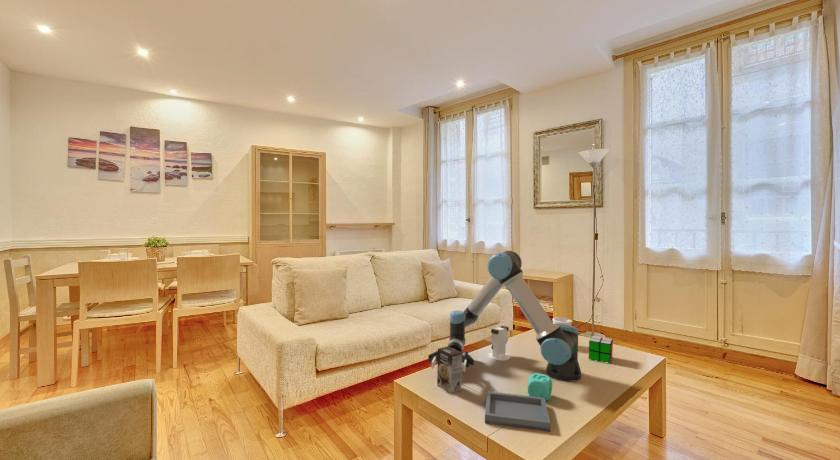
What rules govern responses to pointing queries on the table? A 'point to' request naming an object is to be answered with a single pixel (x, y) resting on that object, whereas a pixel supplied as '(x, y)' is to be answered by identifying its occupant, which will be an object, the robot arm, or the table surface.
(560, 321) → the jar
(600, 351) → the puzzle cube
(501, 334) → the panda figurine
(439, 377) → the coffee box
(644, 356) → the table surface
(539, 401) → the tray
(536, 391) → the decorative dice
